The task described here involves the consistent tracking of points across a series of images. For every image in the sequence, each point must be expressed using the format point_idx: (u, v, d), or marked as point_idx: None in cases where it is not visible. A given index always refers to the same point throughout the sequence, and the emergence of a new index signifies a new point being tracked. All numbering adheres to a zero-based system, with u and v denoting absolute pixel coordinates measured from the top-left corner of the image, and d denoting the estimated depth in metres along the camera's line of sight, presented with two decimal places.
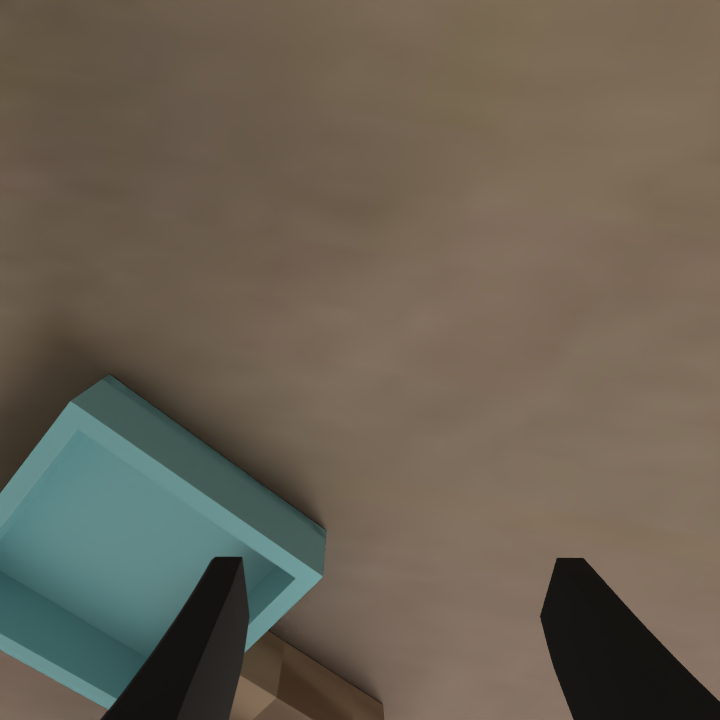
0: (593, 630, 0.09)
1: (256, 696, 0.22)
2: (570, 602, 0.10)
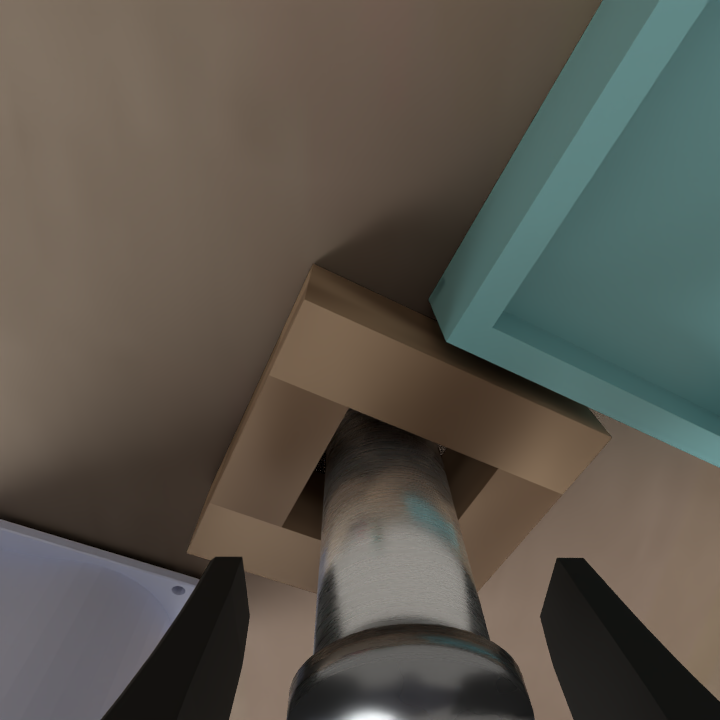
0: (593, 630, 0.09)
1: (562, 470, 0.14)
2: (570, 602, 0.10)
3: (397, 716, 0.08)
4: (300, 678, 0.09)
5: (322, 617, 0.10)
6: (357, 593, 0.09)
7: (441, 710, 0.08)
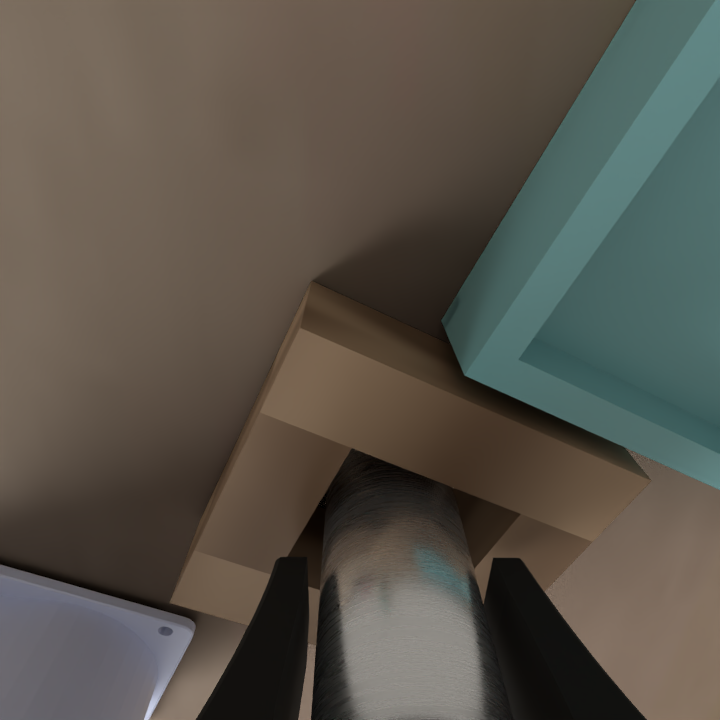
0: (519, 630, 0.09)
1: (593, 515, 0.12)
2: (502, 602, 0.10)
3: None
4: None
5: (319, 712, 0.08)
6: (361, 689, 0.08)
7: None
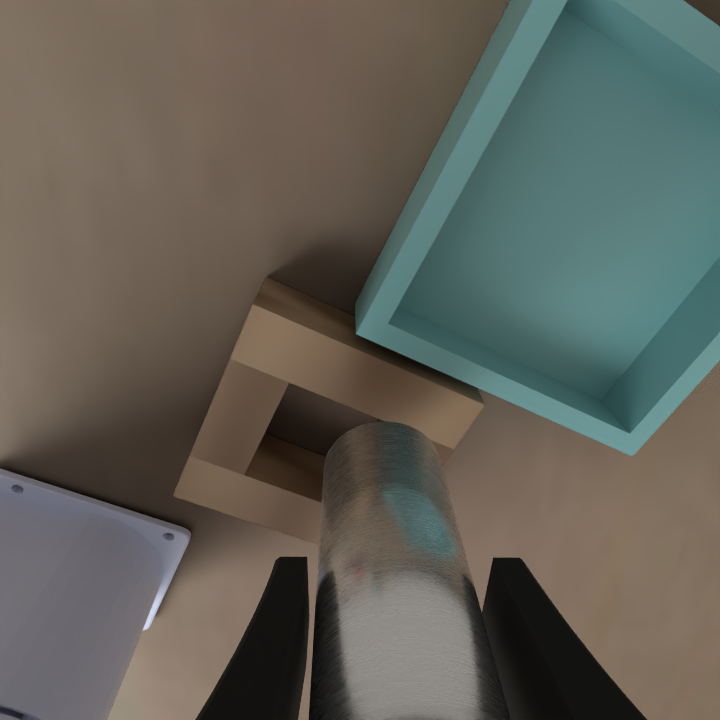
0: (519, 630, 0.09)
1: (451, 430, 0.18)
2: (502, 602, 0.10)
3: None
4: None
5: (317, 712, 0.08)
6: (360, 689, 0.08)
7: None
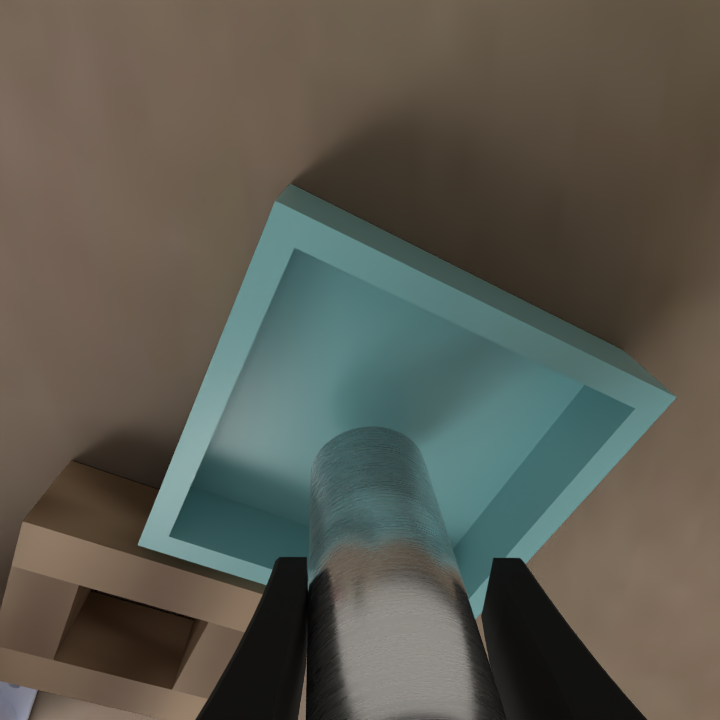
0: (519, 630, 0.09)
1: None
2: (502, 602, 0.10)
3: None
4: None
5: (316, 713, 0.08)
6: (359, 687, 0.08)
7: None
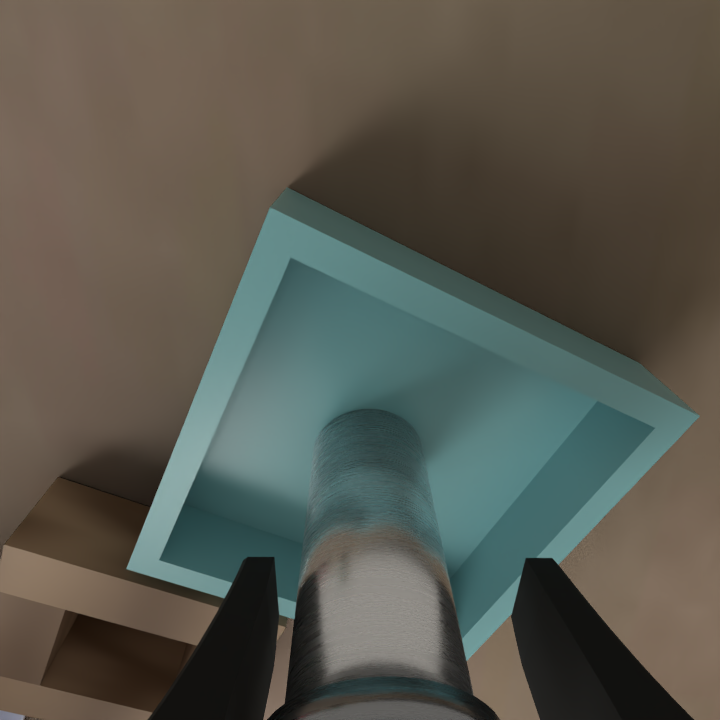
0: (557, 630, 0.09)
1: None
2: (537, 602, 0.10)
3: None
4: None
5: (296, 657, 0.09)
6: (333, 635, 0.09)
7: None
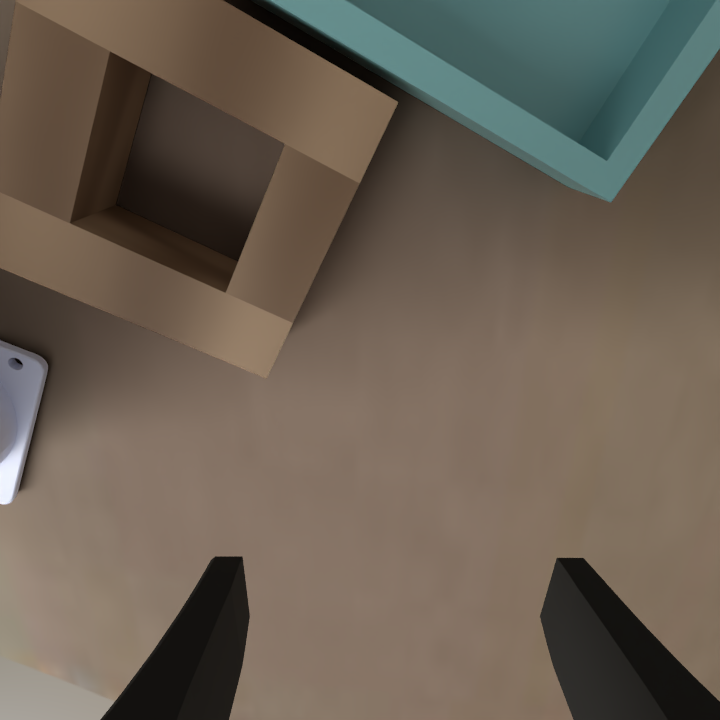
0: (593, 630, 0.09)
1: (353, 148, 0.13)
2: (570, 602, 0.10)
3: None
4: None
5: None
6: None
7: None
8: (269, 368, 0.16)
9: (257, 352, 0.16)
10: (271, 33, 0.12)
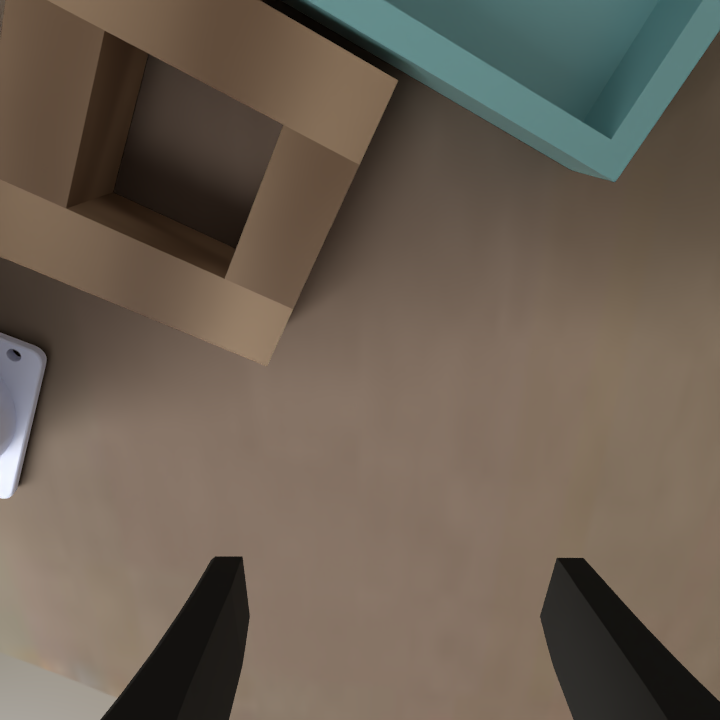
0: (593, 630, 0.09)
1: (353, 128, 0.13)
2: (570, 602, 0.10)
3: None
4: None
5: None
6: None
7: None
8: (269, 356, 0.16)
9: (257, 339, 0.15)
10: (268, 10, 0.12)
